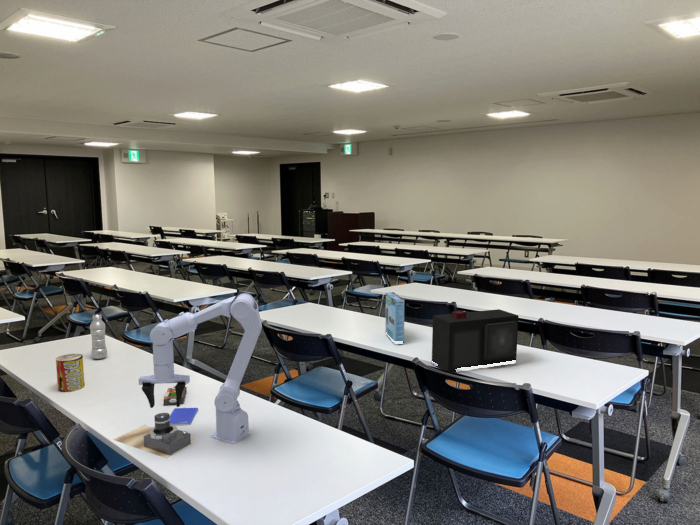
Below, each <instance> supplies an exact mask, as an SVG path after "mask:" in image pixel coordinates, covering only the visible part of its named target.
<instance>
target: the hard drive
mask: <svg viewBox="0 0 700 525" xmlns="http://www.w3.org/2000/svg"><path fill="white" fill-rule="evenodd" d="M198 412H199V408H198V407H176V408H173V410H172V412H171V414H170V424H172V425H175V426H176V427H178V426H192V423H193V421H194V419H195V417H196V415H197V414H198Z"/></svg>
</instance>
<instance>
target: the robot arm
mask: <svg viewBox="0 0 700 525" xmlns="http://www.w3.org/2000/svg"><path fill="white" fill-rule="evenodd" d="M219 316H225V317H227V318H230V317H232V318H234V319H235V320H236V321H237V322H238V323H240V325H241V327H242V329H243V330H244V332H243V335H242V337H241V340H240V343H239V345H238V347H237V351H236V353H235V354H234V355H235V356H234V358H233V361H232V364H231V366H230V368H229V371H228V374H227V377H226V379H225V381H224V383H223V384H221V386H220V387H219V391H218V392H217V395H216V396H215V398H214V406H215V426H216V428H215V429H216V430H215V431H216V432H214V433H212V434H211V435H209V436H210V438H211V439H215V440H219V441H221V442H224V443H229V444H232V445H234V444H236V443H238V442H240V441H241V440H243V439H244V438H246V437H247V436H249V435H251V431H249V414H248V412H247V411H245V410H243V408H241V403H240V402H239V401H238V398H239V396H240V392H241V389H240V385H241V383H242V380H243V378H244V376H245V373H246V370H247V367H248V365H249V363H250V360H251V357H252V354H253V352H254V350H255V347H256V344H257V342H258V339H259V336H260V334H261V331H262V330H263V329H262V328H263V325H262V320H261V315H260V310H259V305H258V302H257V301H256V299H255V298H254V296H252V295H251V294H249V293H244V292H243V293H240V294H238V295H237V296H236V295H235V296H232V297H229V298H225V299H223V300H221V301H219V302H217V303H214V304H213V305H210V306H208V307H206V308H204V309H202V310H200V311H197V312H195V313H192V312H189V311H186V312H184V311H182V312H180V313H178V315H177V316H175V317H173V318H171V319H168V318H167V319H165V320H163V322H160V323H158V324H157V325H155V326H154V327H153V328H152V329H151V331H150V332H149V339H150V341H151V343H152V362H153V374H151V375H144V376H143V375H142V376H140V377H139V378H138V385H139V386H142V387H141V390H142V392H143V393H144V395H145V396H146V398H147V401H148V404H149V407H150V408H151V409H153V408H154V406H155V385H157V384H158V385H159V384H176V385H174V386H175V390H176V404H175V405H176V408H180V406H181V405H182V404H181V397H182V393H183V390H184V388H185V387H186V386H187V385H188V384H189V383H190V381H191V378H190V376H191V375H190V374H188V375H187V374H176V373H175V361H174V360H175V358H174V343H173V341H174V340H173V339H177V338H179V337H181V336H184V335H186V334H188V333H191V332H193V331H195V330H196V329H197V327H198V325H199V324H201V323H204V322H207V321H209V320H212V319H214V318H217V317H219Z"/></svg>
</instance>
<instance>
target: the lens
mask: <svg viewBox="0 0 700 525" xmlns="http://www.w3.org/2000/svg"><path fill="white" fill-rule="evenodd" d="M170 415H171V414H170V413H168V412H160V413H157V414H155V415H154V421H153V422H154V427H155V434H166V433H169V432H170Z"/></svg>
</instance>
